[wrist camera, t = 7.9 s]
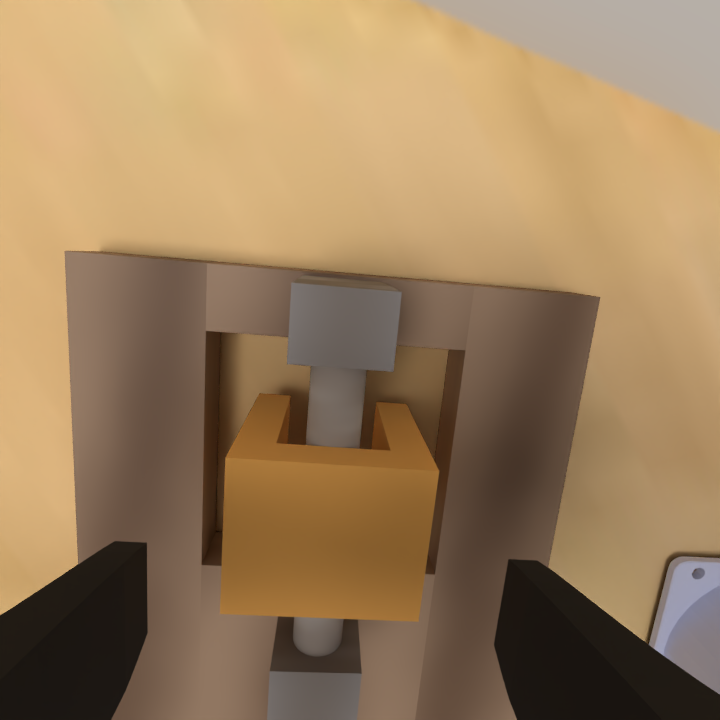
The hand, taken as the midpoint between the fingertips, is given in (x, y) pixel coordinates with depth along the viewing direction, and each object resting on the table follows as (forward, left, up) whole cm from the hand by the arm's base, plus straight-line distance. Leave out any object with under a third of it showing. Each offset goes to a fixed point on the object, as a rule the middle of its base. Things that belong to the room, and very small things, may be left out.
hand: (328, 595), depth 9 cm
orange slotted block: (0, 0, -7) cm, 7 cm away
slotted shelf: (0, +6, -8) cm, 10 cm away
